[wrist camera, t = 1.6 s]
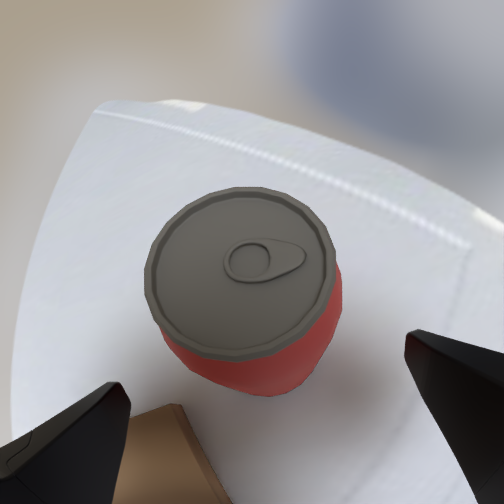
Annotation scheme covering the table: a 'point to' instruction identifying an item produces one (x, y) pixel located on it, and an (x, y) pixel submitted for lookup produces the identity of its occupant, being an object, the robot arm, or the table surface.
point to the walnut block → (165, 463)
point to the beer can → (245, 289)
